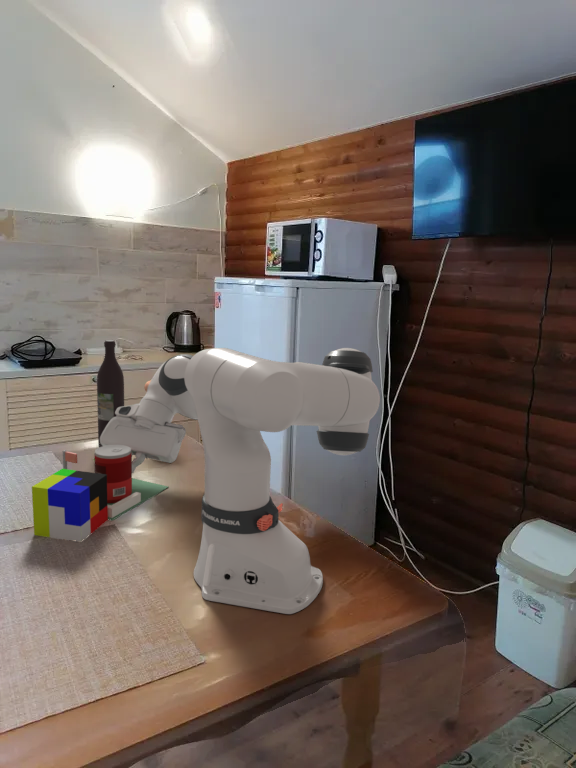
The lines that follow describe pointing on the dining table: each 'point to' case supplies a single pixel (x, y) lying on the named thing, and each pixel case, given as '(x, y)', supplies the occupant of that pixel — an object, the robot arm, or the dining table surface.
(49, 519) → the puzzle toy
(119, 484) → the canned food
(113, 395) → the wine bottle
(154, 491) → the felt runner
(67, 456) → the cup fence
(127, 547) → the dining table surface
